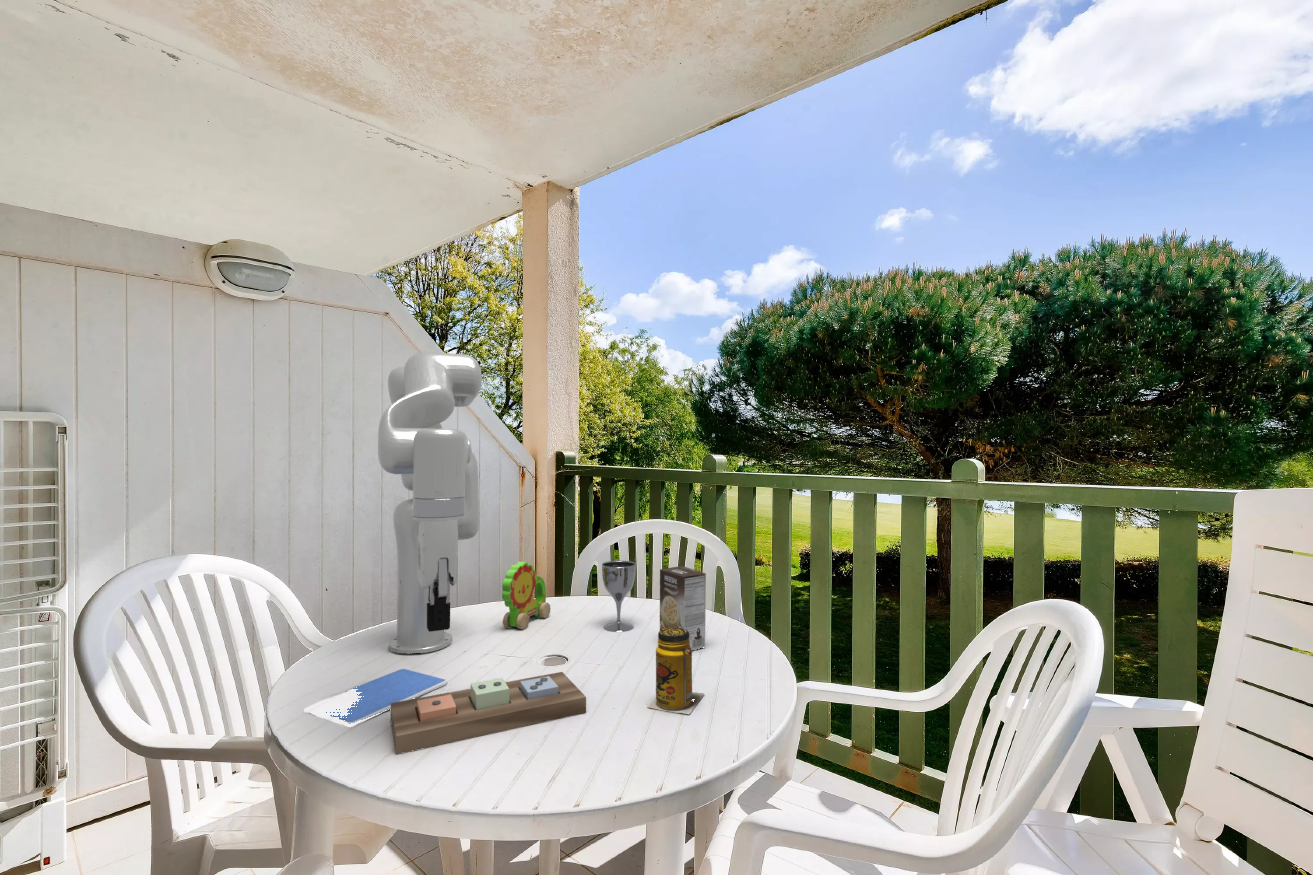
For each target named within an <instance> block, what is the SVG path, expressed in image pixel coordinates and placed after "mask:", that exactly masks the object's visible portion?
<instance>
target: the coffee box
mask: <svg viewBox="0 0 1313 875" xmlns="http://www.w3.org/2000/svg"><path fill="white" fill-rule="evenodd" d="M706 576H707V574H706V572H703V571H699V570H696V569H693V568H690V567H688V566H683V565H678V566H675V567H667V568H661V569H659V631H660V630H662V629H665V628H672V627H675V628H682V629H685V630H687V631H688V632H689V634H690V635H689V641H690V644H689V645H690V647H691V649H692V650H695V651H698V650H697V649H699V650H701V649H700V648H703V647H705V648H706V604H707V603H706V602H707V601H706V600H707V599H706V593H707V592H706V591H707V590H706V585H707V584H706V581H707V580H706V579H707V577H706ZM703 649H704V648H703Z"/></svg>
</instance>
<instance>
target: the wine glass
mask: <svg viewBox="0 0 1313 875" xmlns="http://www.w3.org/2000/svg"><path fill="white" fill-rule="evenodd" d="M601 577H602V582H603V585H604V586H603V587H604V588H605V590H606V591H607V592H608V594H609V595H610V596H611V597H612V599H613V600H614V602H615V606H616V622H611V623H607V624H605V625H603V629H604V630H605V631H607V632H614V633H615V632H616V633H617V632H618V633H621V632H622V633H623V632H628V631H630V630H633V629H634V628H635V626H634V625H633V624H632V623H628V622H622V621H621V612H622V610H621V609H622V605H623V604H622V603H623V600H624V599H625V598H626V596H627V595H629V593H630V591H632V588H633V587H634V584H635V580H636V579H635V578H636V562H634V561H629V560H609V561H604V562H603V563H602V564H601Z"/></svg>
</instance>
